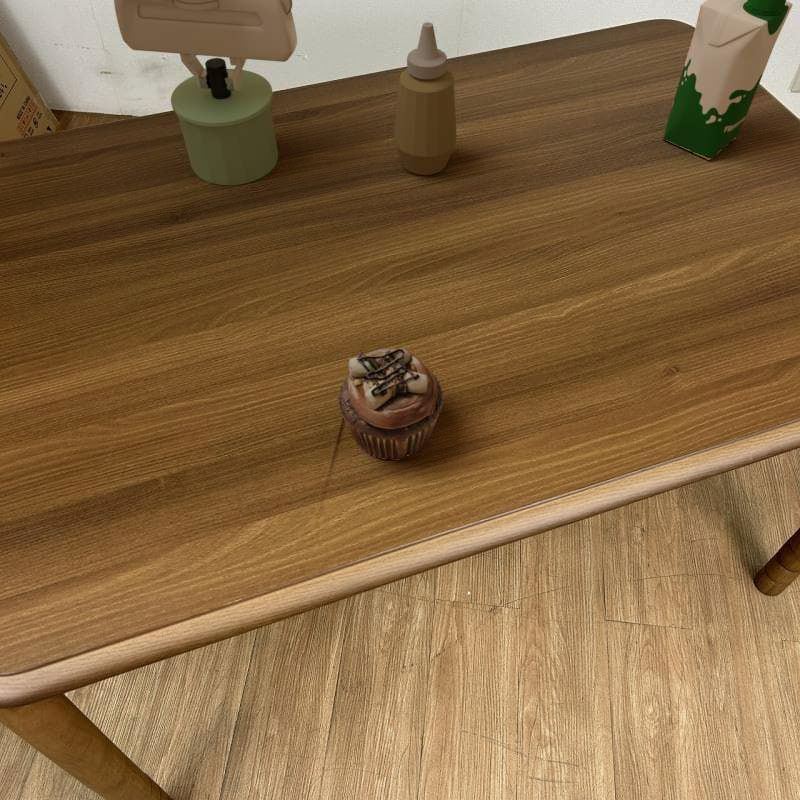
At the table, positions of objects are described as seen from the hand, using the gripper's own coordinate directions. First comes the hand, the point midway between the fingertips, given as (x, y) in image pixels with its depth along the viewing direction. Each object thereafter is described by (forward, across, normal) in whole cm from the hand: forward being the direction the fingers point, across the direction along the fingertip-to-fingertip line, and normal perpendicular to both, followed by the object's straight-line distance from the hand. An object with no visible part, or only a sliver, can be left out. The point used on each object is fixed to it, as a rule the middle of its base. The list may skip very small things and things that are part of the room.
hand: (220, 87), depth 91 cm
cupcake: (+10, -28, +40) cm, 50 cm away
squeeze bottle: (+10, -25, -3) cm, 27 cm away
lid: (+2, 0, 0) cm, 2 cm away
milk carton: (+10, -61, -14) cm, 63 cm away
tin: (+10, 0, 0) cm, 10 cm away
